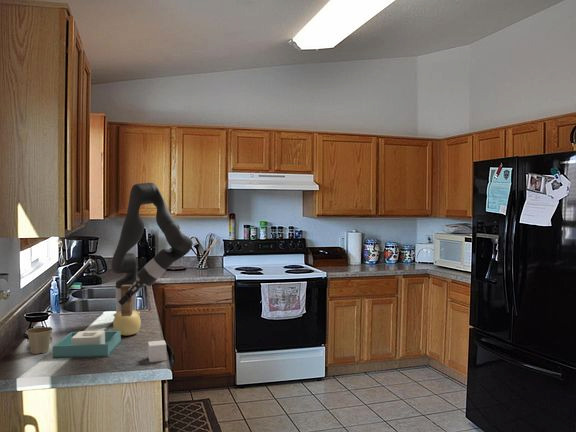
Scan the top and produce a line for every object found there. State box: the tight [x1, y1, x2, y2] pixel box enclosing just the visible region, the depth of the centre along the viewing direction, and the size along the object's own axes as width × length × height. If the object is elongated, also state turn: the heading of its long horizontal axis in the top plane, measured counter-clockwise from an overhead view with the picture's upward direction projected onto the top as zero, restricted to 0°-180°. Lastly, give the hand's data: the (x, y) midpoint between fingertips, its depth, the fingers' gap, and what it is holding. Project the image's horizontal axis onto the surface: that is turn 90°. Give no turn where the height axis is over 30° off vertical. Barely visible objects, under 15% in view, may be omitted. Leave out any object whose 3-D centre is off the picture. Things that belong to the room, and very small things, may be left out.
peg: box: [121, 285, 132, 316], centre depth 205 cm, size 4×4×12 cm
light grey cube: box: [147, 339, 167, 363], centre depth 188 cm, size 6×6×6 cm
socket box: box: [52, 330, 122, 359], centre depth 200 cm, size 20×20×6 cm
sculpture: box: [112, 310, 142, 336], centre depth 223 cm, size 11×12×11 cm
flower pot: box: [25, 326, 54, 355], centre depth 198 cm, size 9×9×9 cm
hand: (121, 302), depth 204 cm, fingers closed on peg, 3 cm apart
